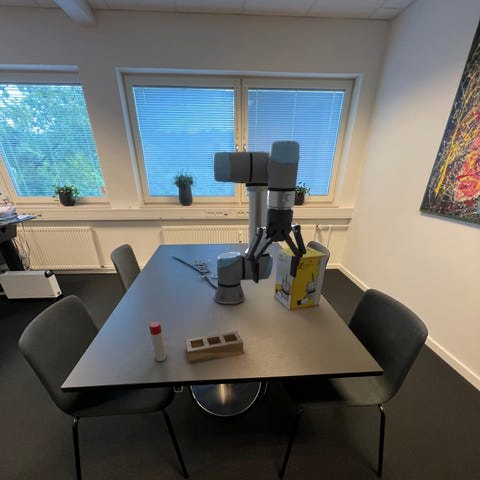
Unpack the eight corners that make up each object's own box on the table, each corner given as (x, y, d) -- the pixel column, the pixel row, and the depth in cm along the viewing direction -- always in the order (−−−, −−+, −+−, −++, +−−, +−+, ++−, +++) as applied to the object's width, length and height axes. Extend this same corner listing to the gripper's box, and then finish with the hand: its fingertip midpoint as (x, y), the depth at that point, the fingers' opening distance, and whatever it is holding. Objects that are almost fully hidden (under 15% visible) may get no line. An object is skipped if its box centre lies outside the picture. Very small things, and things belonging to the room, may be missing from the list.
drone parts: (226, 261, 189) (226, 257, 187) (235, 279, 159) (235, 274, 158) (194, 262, 184) (194, 258, 183) (197, 280, 155) (197, 275, 153)
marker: (155, 356, 92) (149, 322, 85) (165, 354, 93) (159, 321, 86) (156, 362, 89) (149, 327, 82) (166, 360, 90) (160, 326, 83)
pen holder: (186, 350, 95) (185, 339, 93) (237, 341, 100) (237, 330, 98) (189, 363, 89) (187, 351, 86) (243, 353, 94) (243, 341, 91)
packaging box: (318, 305, 128) (327, 255, 115) (289, 310, 123) (295, 258, 110) (301, 292, 141) (307, 246, 128) (274, 296, 136) (278, 249, 123)
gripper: (244, 211, 65) (243, 288, 76) (325, 207, 73) (313, 277, 84) (234, 208, 71) (234, 280, 82) (309, 204, 79) (301, 270, 90)
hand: (274, 278), depth 83 cm, fingers open, 13 cm apart
